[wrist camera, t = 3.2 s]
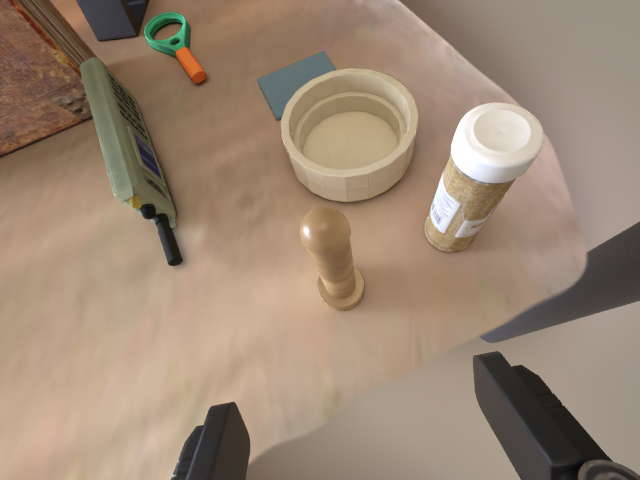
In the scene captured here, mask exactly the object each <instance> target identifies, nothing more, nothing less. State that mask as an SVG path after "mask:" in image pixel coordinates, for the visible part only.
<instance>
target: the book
mask: <svg viewBox="0 0 640 480" xmlns="http://www.w3.org/2000/svg"><path fill="white" fill-rule="evenodd" d="M92 57H96V58H97V56H96V55H95V54H94V53H93V52H92V50H91V49H90V48H89V47H88V46H87V44H86V43H85V42H84V41H83V40H82V39H81V37H80V36H79V35H78V34H77V33H76V31H75V30H74V29H73V28H72V27H71V25H70V24H69V23H68V22H67V21H66V19H65V18H64V17H63V16H62V15H61V13H60V12H59V11H58V10H57V9H56V7H55V6H54V5H53V4H52V3H51V1H50V0H0V157H2V156H4V155H7V154H9V153H12V152H14V151H16V150H19V149H21V148H23V147H26V146H28V145H31V144H33V143H35V142H38V141H40V140H42V139H45V138H47V137H50V136H52V135H54V134H57V133H59V132H61V131H64V130H66V129H69V128H71V127H73V126H76V125H78V124H80V123H83V122H85V121H88V120H90V119H92V118H93V116H92V113H91V109H90V105H89V102H88V99H87V96H86V92H85V88H84V84H83V81H82V77H81V72H80V65H81V63H83V62H85V61H87V60H88V59H90V58H92Z"/></svg>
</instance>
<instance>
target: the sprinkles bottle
mask: <svg viewBox="0 0 640 480" xmlns="http://www.w3.org/2000/svg"><path fill="white" fill-rule="evenodd" d="M543 143H544V132H543V129H542V126H541V124H540V123H539V121H538V120H537V118H536V117H534V115H532V114H531V113H530V112H529V111H527V110H525V109H524V108H522V107H519V106H517V105H514V104H509V103H501V102H496V103H487V104H483V105H480V106H477V107H475V108H474V109H472V110H470V111H469V112H468V113H467V114H466V115H465V116H464V117H463V118H462V120H461V121H460V123H459V125H458V127H457V130H456V132H455V135H454V138H453V141H452V144H451V155H450V158H449V161H448V163H447V166H446V168H445V169H444V172H443V174H442V177H441V180H440V183H439V186H438V188H437V191H436V194H435V197H434V200H433V203H432V206H431V210H430V214H429V215H428V216H427V218H426V220H425V225H424V232H425V235H426V237H427V239H428V241H429V242H430V243H431V244H432V245H433V246H434V247H436V248H437V249H439V250H441V251H446V252H457V251H461V250H463V249H465V248H467V247H468V246H469V245H470V244H471V243H472V242H473V241H474V238H475V236H476V234H477V233H478V231H479V230H480V229H481V228H482V227H483V225H484V224H485V223H486V221H487V220H488V218H489V217H490V215H491V214H492V212H493V211H494V210H495V208H496V207H497V206H498V204H499V203H500V202H501V200H502V199H503V197H504V195H505V193H506V192H507V190H508V189H509V188H510V186H511V185H512V184H513V182H514V181H515V180H516V178H518V177H520V176H521V175H522V174H523V173H525V172H526V170H527V169H528V168H529V167H530V165H531V164H532V163H533V161H534V160H535V158H536V157H537V155H538V154H539V153H540V151H541V149H542V147H543Z"/></svg>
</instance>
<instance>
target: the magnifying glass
mask: <svg viewBox="0 0 640 480" xmlns="http://www.w3.org/2000/svg"><path fill="white" fill-rule="evenodd" d="M172 22H179V23H182V24H183V25H182V28H181V30H180V31H179V32H178V33H177V34H176V35H174V36H173V37H171V38H169V39H166V40H154V39H153V35H154V33H155V32H156V31H157V30H158V29H159V28H160V27H162V26H163V25H165V24H168V23H172ZM144 34H145V37H146V39H147V41H148V42H149V43H150V45H151V46H152V47H153V48H154V49H156V50H159V51H162V52H164V53H167V54H170V55H172V56H175V57H177V58H178V60H179V61H180V63H181V65H182V66H183V67H184V69H185V71H186V72H187V74H188V75H189V76H190V78H191V80H192V81H193V82H194V83H200V82H202V81H203V80H205V78H206V73H205V71H204V70H203V69H202V67H201V66H200V64H199V63H198V62H197V60H196V59H195V57H194V56H193V55H192V53H191V52H190V50H189V40H190V27H189V24H188V22H187V21H186V19H185V17H184V16H183V15H181V14H179V13H176V12H166V13H162V14H160V15H157V16H156V17H154V18H153V19H151V20H150V21H149V22H148V24H147V25H146V27H145V30H144ZM176 44H177V45H176Z"/></svg>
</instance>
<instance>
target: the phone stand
mask: <svg viewBox="0 0 640 480" xmlns="http://www.w3.org/2000/svg"><path fill="white" fill-rule="evenodd" d="M76 1H77V3H78V5H79V6H80V8H81V10H82V12H83V14H84V16H85V17H86V19H87V21H88V23H89V25H90V27H91V28H92V30H93V32H94V34H95V36H96V38H97V39H98V41H104V40H111V39H119V38H126V37H134V36H138V35H139V31H140V28H141V25H142V22H143V18H144V17H143V16H144V15H145V12H146V8H147V5H148V2H149V0H76Z"/></svg>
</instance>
